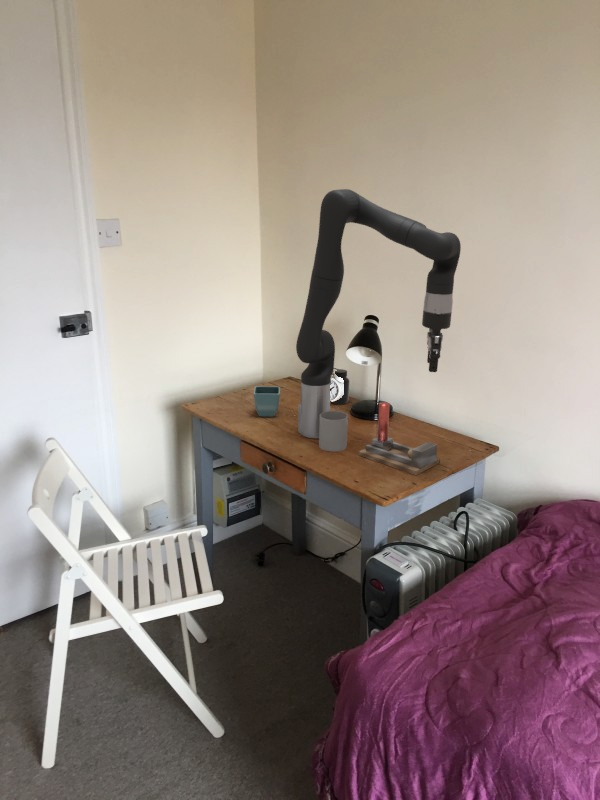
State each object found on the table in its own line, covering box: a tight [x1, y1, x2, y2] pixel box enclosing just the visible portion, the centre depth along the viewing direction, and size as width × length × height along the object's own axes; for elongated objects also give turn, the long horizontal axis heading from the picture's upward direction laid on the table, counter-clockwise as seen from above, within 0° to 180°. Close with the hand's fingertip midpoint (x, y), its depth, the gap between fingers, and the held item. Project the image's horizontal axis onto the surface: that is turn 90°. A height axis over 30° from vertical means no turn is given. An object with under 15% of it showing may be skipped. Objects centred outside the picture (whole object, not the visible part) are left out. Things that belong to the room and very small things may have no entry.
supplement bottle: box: [334, 368, 350, 405], centre depth 237 cm, size 7×7×12 cm
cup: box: [318, 410, 349, 452], centre depth 197 cm, size 8×8×10 cm
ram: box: [371, 401, 394, 451], centre depth 191 cm, size 4×5×14 cm
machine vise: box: [358, 441, 441, 476], centre depth 188 cm, size 20×12×6 cm, turn 47°
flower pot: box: [253, 385, 281, 418], centre depth 224 cm, size 9×9×9 cm
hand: (431, 367), depth 180 cm, fingers open, 8 cm apart
